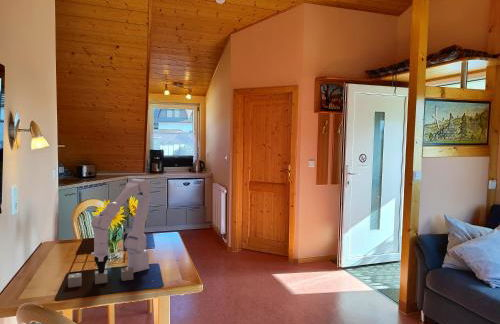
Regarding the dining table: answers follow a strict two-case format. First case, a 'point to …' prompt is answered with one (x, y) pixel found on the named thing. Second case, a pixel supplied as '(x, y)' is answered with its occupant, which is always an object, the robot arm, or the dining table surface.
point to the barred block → (127, 273)
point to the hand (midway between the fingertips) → (101, 272)
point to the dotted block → (74, 280)
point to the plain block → (100, 277)
